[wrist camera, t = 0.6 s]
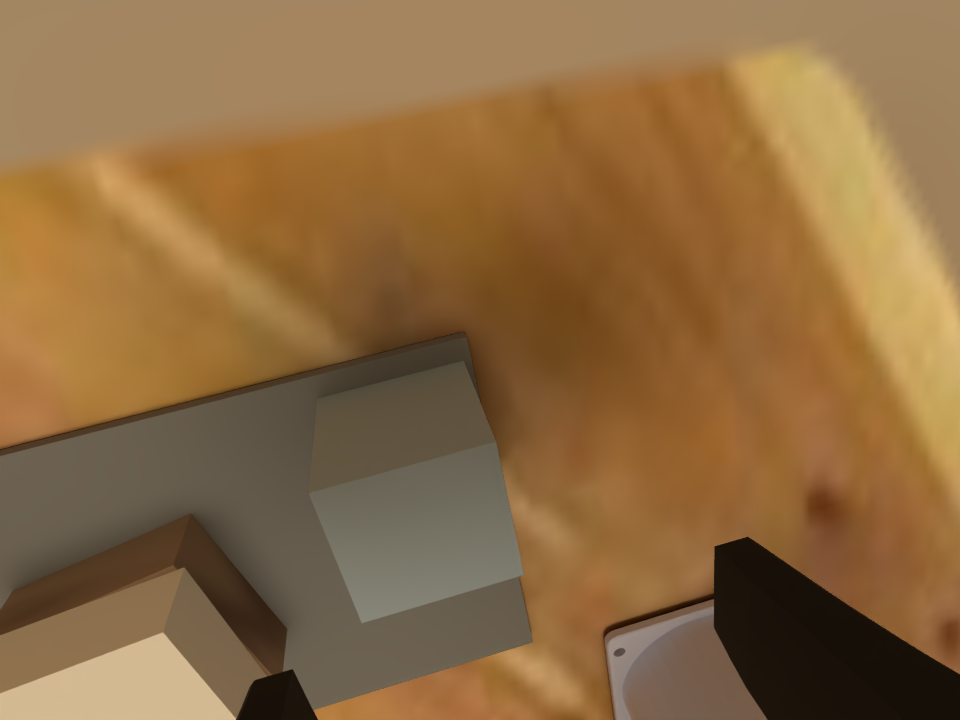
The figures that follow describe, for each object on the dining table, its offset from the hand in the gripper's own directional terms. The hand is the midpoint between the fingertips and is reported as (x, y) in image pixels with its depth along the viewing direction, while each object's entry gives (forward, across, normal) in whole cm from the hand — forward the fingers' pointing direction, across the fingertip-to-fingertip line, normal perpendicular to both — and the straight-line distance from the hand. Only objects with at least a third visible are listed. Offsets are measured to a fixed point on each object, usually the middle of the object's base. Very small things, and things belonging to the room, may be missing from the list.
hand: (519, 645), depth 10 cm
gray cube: (+10, +1, +2) cm, 10 cm away
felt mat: (+10, +8, +6) cm, 14 cm away
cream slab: (+7, +11, +6) cm, 14 cm away
